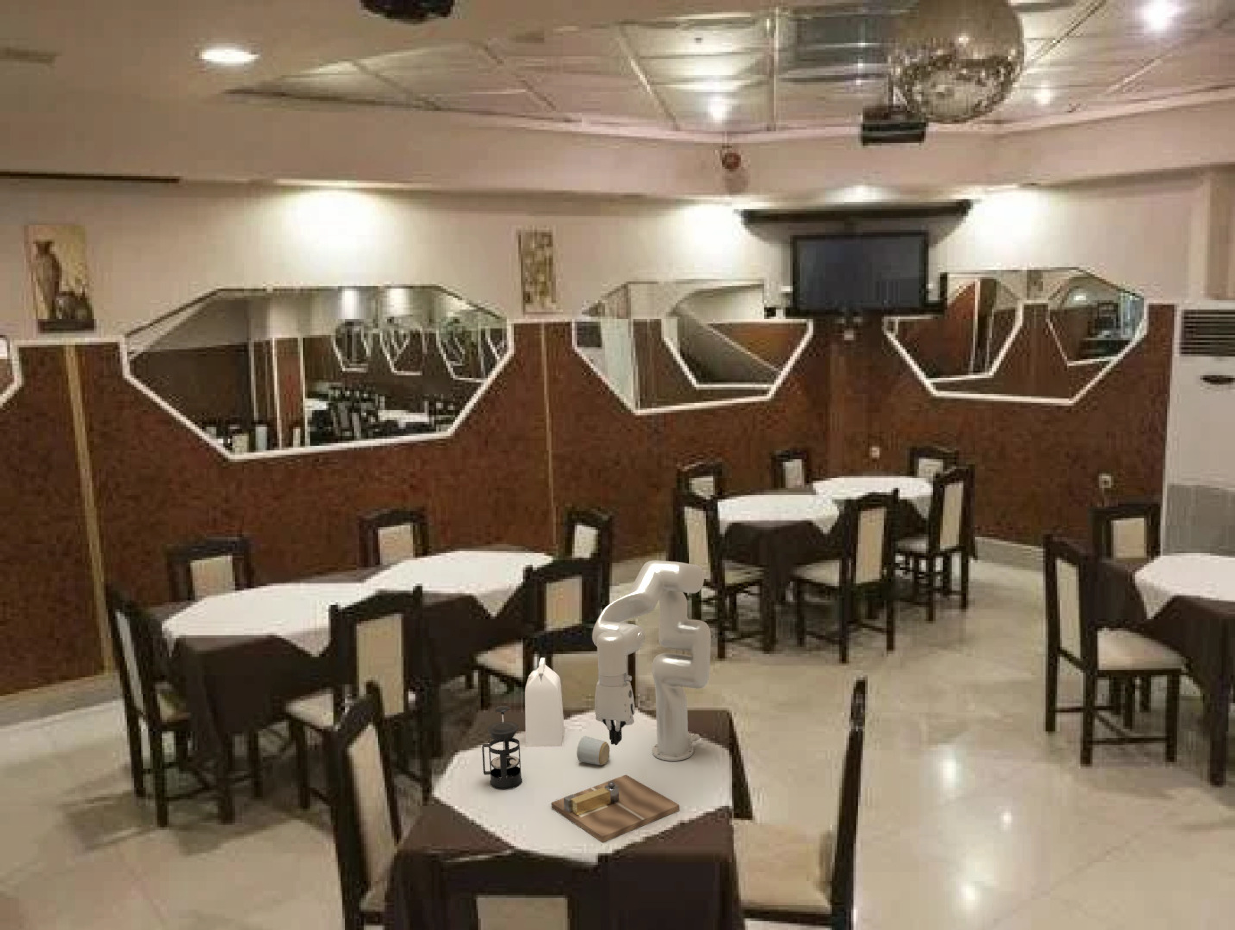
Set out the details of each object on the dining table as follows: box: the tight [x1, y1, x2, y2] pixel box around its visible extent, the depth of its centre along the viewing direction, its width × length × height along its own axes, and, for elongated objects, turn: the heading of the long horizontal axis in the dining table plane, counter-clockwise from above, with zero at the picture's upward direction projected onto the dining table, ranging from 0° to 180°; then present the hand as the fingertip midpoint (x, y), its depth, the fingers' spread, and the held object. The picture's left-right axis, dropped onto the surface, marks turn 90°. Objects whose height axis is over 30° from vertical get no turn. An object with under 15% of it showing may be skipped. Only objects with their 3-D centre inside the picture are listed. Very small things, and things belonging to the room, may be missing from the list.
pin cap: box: [607, 780, 615, 788], centre depth 281 cm, size 2×2×1 cm
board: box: [550, 774, 680, 843], centre depth 280 cm, size 26×24×5 cm
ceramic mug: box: [576, 735, 611, 766], centre depth 310 cm, size 11×8×8 cm
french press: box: [481, 705, 523, 791], centre depth 296 cm, size 12×9×23 cm
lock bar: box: [571, 785, 619, 815], centre depth 279 cm, size 14×4×4 cm, turn 125°
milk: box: [524, 657, 566, 748], centre depth 326 cm, size 12×12×26 cm
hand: (615, 742), depth 274 cm, fingers closed
